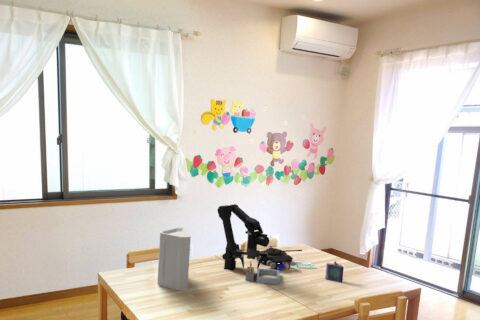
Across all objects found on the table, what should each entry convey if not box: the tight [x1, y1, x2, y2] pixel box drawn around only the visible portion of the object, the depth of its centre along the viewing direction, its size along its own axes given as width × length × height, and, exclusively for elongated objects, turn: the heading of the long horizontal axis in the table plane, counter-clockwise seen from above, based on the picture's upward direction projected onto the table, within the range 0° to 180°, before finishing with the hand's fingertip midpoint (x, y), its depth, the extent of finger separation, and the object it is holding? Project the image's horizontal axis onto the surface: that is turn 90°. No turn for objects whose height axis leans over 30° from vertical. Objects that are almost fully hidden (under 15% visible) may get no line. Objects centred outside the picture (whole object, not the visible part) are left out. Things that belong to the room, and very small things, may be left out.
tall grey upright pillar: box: [156, 226, 191, 291], centre depth 185 cm, size 19×15×28 cm
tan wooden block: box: [249, 260, 253, 273], centre depth 200 cm, size 1×6×8 cm, turn 176°
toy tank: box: [255, 245, 303, 266], centre depth 231 cm, size 12×34×10 cm, turn 108°
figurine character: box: [266, 256, 293, 270], centre depth 216 cm, size 7×8×15 cm
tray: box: [256, 267, 281, 285], centre depth 199 cm, size 13×14×3 cm
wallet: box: [324, 260, 344, 283], centre depth 204 cm, size 10×3×12 cm, turn 65°
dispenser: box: [244, 266, 255, 282], centre depth 200 cm, size 5×12×5 cm, turn 176°
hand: (250, 268), depth 200 cm, fingers open, 8 cm apart
